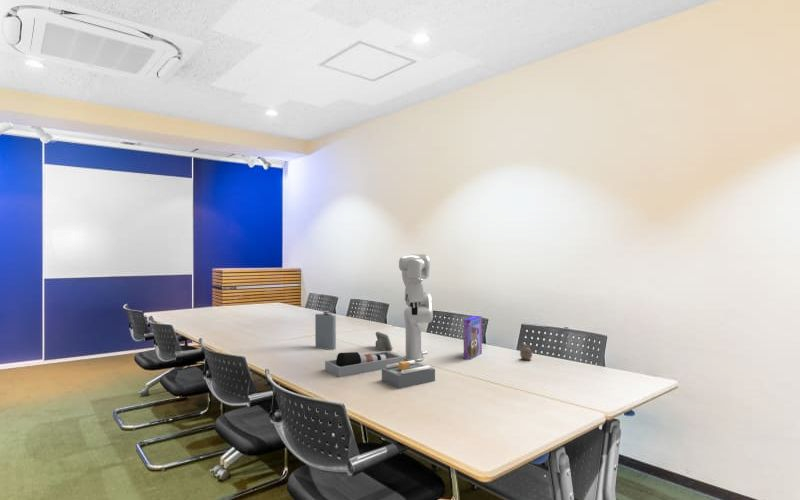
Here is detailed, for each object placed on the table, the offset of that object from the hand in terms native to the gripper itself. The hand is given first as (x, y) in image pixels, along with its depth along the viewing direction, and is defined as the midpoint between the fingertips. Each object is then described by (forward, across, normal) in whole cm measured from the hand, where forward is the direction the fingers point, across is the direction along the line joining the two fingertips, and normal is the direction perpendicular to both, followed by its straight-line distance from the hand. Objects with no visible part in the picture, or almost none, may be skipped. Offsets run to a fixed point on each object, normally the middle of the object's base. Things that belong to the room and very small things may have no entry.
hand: (414, 314), depth 245 cm
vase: (+32, -70, +18) cm, 79 cm away
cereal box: (+32, -50, -7) cm, 60 cm away
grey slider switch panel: (+31, +13, +12) cm, 36 cm away
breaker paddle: (+24, +16, +12) cm, 32 cm away
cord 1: (+25, +13, +6) cm, 29 cm away
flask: (+33, +15, -82) cm, 89 cm away
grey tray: (+31, +19, -22) cm, 43 cm away
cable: (+32, +18, -21) cm, 42 cm away
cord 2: (+25, +13, +19) cm, 34 cm away
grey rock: (+33, -15, -56) cm, 67 cm away
